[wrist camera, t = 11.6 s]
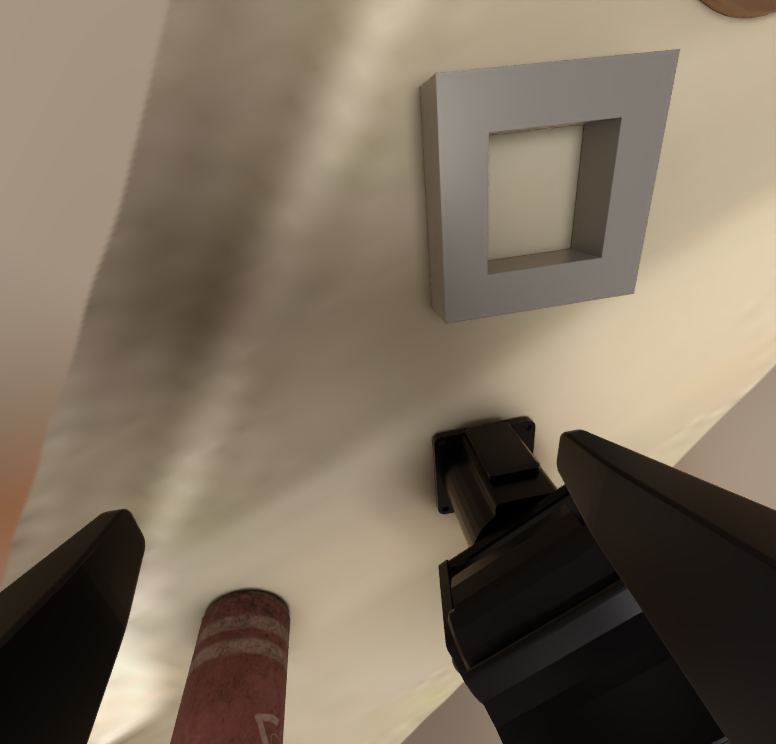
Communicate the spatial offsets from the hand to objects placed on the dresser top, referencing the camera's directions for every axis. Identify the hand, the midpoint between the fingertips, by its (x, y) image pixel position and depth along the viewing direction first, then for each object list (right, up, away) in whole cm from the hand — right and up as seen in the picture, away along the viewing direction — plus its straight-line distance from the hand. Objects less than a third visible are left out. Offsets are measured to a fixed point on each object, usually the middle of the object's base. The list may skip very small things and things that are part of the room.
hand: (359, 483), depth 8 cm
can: (-10, -15, +21) cm, 28 cm away
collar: (+7, +11, +11) cm, 17 cm away
